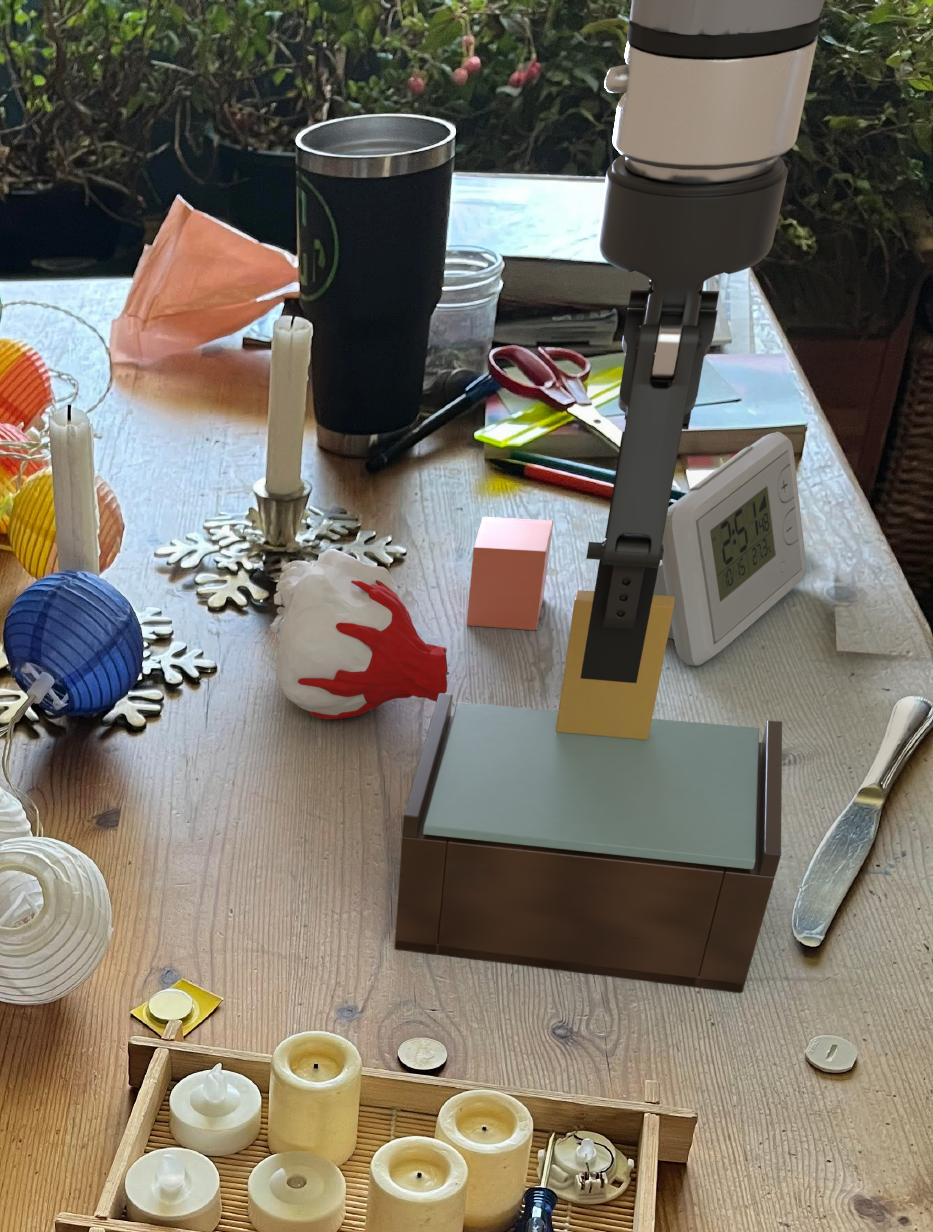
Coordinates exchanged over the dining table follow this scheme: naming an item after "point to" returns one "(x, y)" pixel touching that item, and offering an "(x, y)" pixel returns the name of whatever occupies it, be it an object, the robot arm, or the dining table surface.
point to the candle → (349, 639)
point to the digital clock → (732, 548)
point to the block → (509, 572)
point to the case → (585, 894)
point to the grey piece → (601, 768)
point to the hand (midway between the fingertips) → (618, 612)
